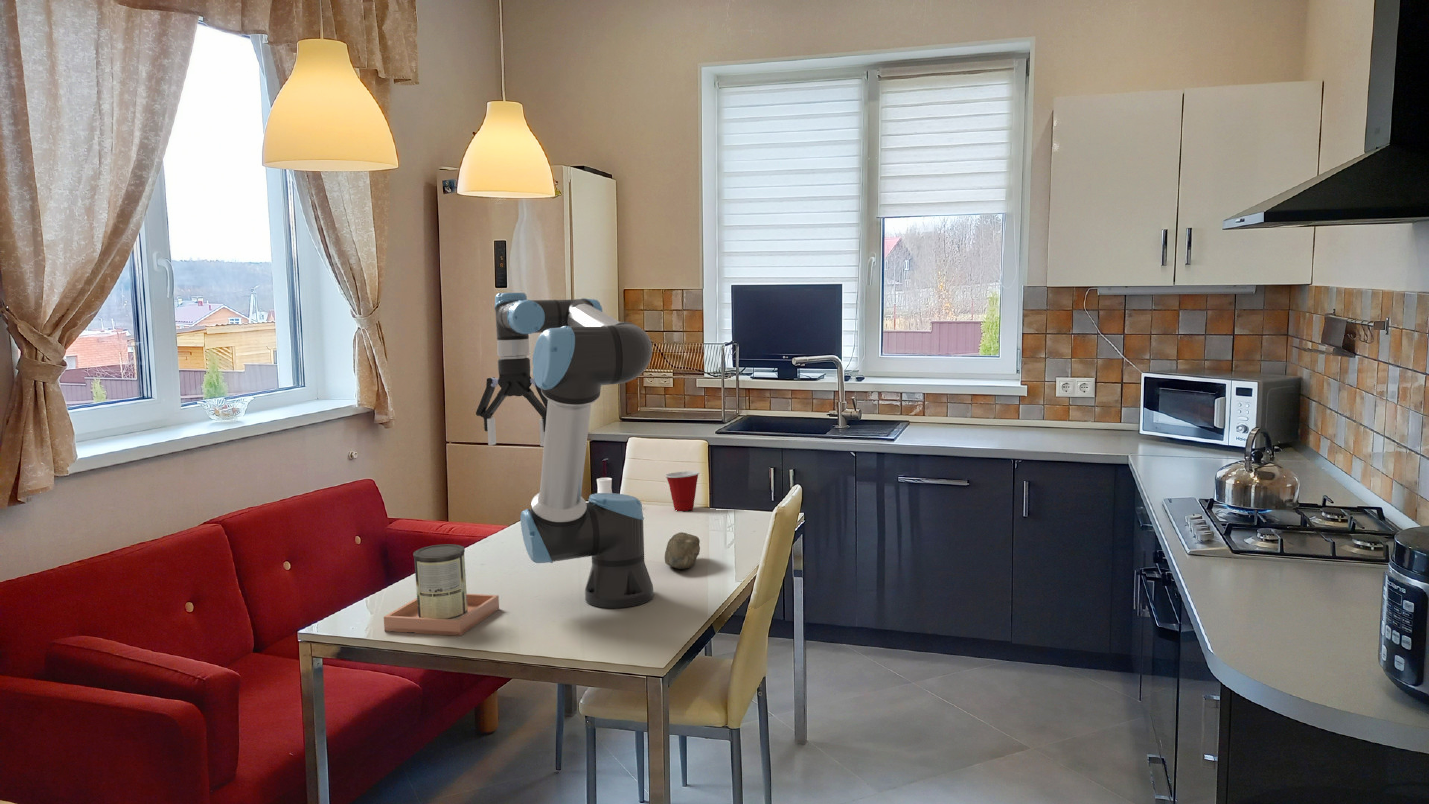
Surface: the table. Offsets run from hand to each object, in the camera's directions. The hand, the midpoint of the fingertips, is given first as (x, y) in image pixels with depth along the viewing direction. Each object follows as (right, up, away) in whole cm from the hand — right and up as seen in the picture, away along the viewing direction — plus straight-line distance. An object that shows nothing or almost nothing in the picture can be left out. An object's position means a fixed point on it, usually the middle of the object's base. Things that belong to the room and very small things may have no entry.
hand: (518, 445), depth 229 cm
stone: (+40, -30, +6) cm, 50 cm away
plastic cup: (+38, -24, +69) cm, 82 cm away
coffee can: (-9, -35, -30) cm, 47 cm away
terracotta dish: (-9, -35, -30) cm, 47 cm away
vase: (+13, -24, +72) cm, 77 cm away
